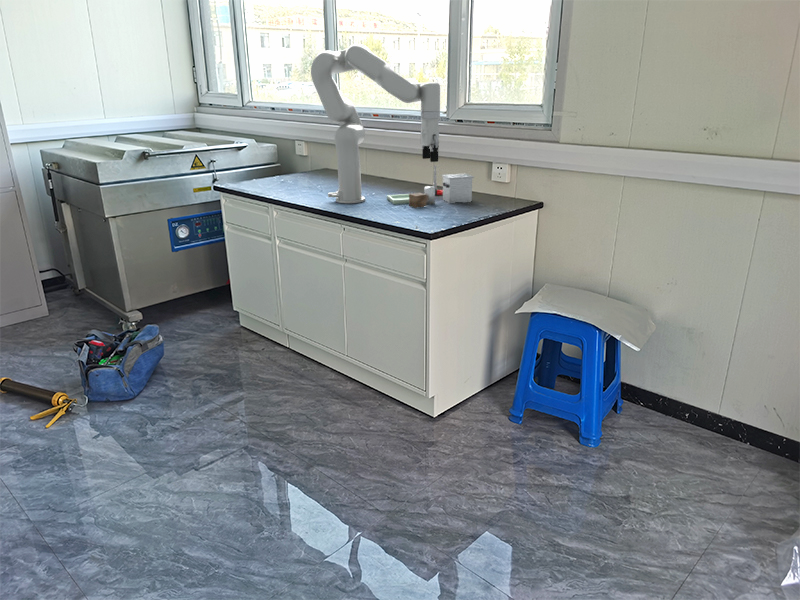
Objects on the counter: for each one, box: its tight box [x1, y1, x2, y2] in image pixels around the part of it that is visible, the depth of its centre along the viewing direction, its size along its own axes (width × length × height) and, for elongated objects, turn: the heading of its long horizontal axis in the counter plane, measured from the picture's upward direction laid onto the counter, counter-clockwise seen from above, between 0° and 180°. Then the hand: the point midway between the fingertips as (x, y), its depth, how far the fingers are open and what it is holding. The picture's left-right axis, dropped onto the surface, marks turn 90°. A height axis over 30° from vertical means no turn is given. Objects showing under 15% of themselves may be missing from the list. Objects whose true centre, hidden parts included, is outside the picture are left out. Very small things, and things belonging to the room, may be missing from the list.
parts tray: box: [386, 193, 410, 205], centre depth 247 cm, size 11×11×2 cm
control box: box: [441, 172, 474, 204], centre depth 245 cm, size 11×9×11 cm
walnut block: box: [408, 192, 427, 209], centre depth 237 cm, size 5×5×5 cm
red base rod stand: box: [432, 165, 443, 196], centre depth 261 cm, size 8×13×9 cm
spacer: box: [423, 185, 436, 206], centre depth 241 cm, size 4×4×7 cm
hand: (430, 160), depth 235 cm, fingers open, 9 cm apart
